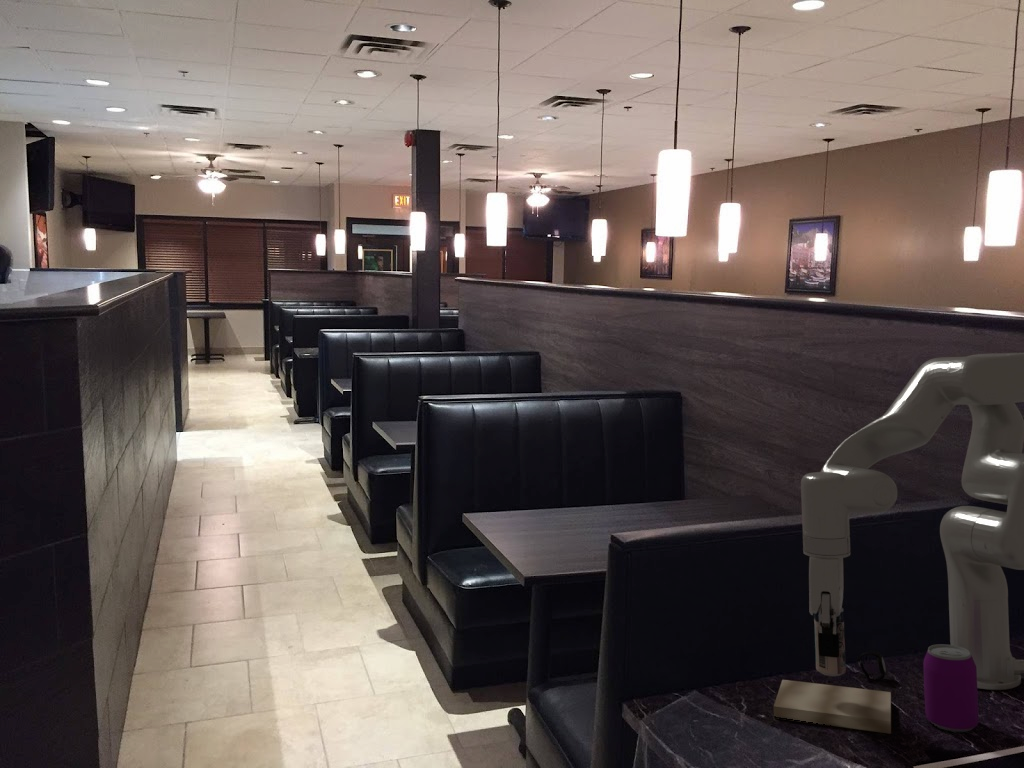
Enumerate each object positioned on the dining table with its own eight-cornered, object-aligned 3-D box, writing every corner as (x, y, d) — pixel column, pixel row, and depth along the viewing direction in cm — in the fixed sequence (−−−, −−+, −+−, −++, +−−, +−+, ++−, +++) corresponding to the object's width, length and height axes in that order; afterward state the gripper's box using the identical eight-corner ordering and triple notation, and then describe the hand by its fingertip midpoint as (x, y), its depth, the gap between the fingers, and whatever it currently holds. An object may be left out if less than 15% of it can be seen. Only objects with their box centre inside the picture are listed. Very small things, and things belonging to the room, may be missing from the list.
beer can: (848, 678, 135) (846, 607, 135) (818, 677, 136) (816, 607, 136) (842, 667, 140) (840, 599, 140) (813, 666, 141) (811, 598, 141)
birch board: (891, 703, 140) (890, 692, 140) (891, 733, 129) (890, 721, 129) (782, 690, 148) (782, 679, 148) (774, 717, 137) (773, 706, 137)
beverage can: (928, 731, 129) (925, 657, 129) (923, 710, 136) (920, 640, 136) (982, 737, 126) (979, 661, 126) (974, 716, 134) (972, 644, 133)
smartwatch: (881, 684, 148) (880, 658, 148) (854, 677, 152) (853, 651, 152) (892, 678, 150) (891, 652, 150) (866, 671, 154) (864, 645, 154)
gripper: (807, 533, 147) (811, 632, 147) (797, 555, 132) (802, 665, 132) (852, 535, 144) (855, 636, 144) (847, 558, 128) (851, 671, 129)
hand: (830, 649), depth 138 cm, fingers closed on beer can, 4 cm apart
